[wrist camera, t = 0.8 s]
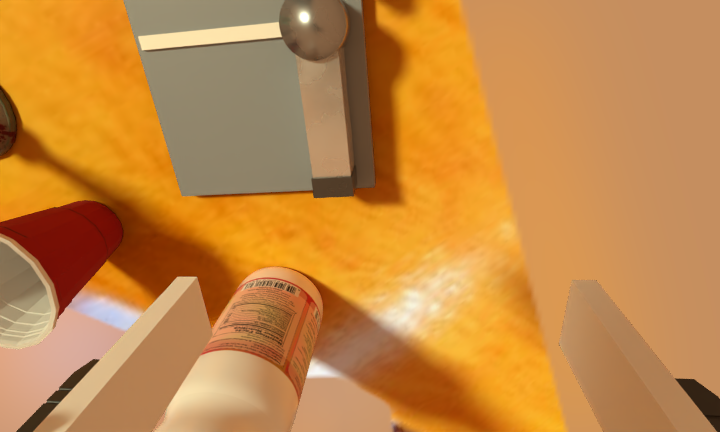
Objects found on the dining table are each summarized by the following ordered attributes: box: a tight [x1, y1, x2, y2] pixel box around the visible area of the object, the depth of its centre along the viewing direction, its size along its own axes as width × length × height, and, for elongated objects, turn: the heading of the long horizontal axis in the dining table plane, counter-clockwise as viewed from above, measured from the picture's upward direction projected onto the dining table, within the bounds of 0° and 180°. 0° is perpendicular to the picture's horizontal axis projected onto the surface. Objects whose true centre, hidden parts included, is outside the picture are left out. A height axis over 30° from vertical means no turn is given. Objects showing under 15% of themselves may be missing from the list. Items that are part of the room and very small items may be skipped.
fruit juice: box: [154, 267, 323, 432], centre depth 29 cm, size 9×9×28 cm
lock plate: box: [124, 0, 376, 196], centre depth 28 cm, size 26×18×5 cm
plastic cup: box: [0, 200, 123, 349], centre depth 34 cm, size 11×11×12 cm
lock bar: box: [279, 0, 357, 198], centre depth 29 cm, size 14×4×3 cm, turn 5°
